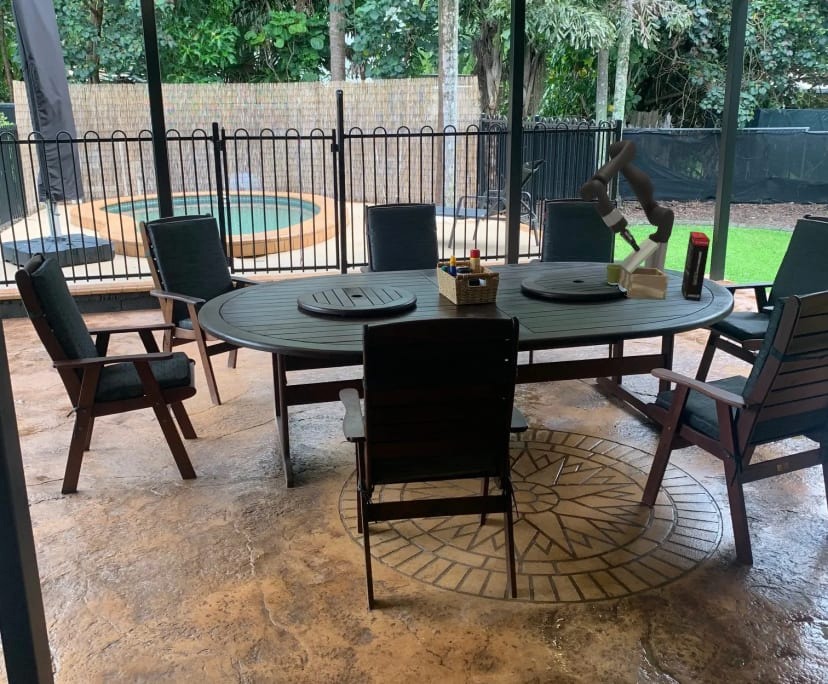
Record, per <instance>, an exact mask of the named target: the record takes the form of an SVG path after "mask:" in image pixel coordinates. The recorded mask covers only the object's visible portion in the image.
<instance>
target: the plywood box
mask: <svg viewBox="0 0 828 684" xmlns="http://www.w3.org/2000/svg"><path fill="white" fill-rule="evenodd" d="M668 283H669V276H668V275H667V274H666V273H665V272H664V271H663V272H661V271H660V270H658V269H656V268H644V267H640V266H638V267H637V268H636V269H635V270H634V271H633V272H632V273H630V274H628V273H627V272H625V271H624V270H623V269H621V271H620V278H619V285H621V286H622V287H623V288H625V289H626V290H627V295H625V296H626V297H627V298H629V299H630V298H632V299H633V298H634V299H635V298H636V299H649V300H650V299H652V300H666V297H667V296H666V294H667V289H668Z"/></svg>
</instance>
